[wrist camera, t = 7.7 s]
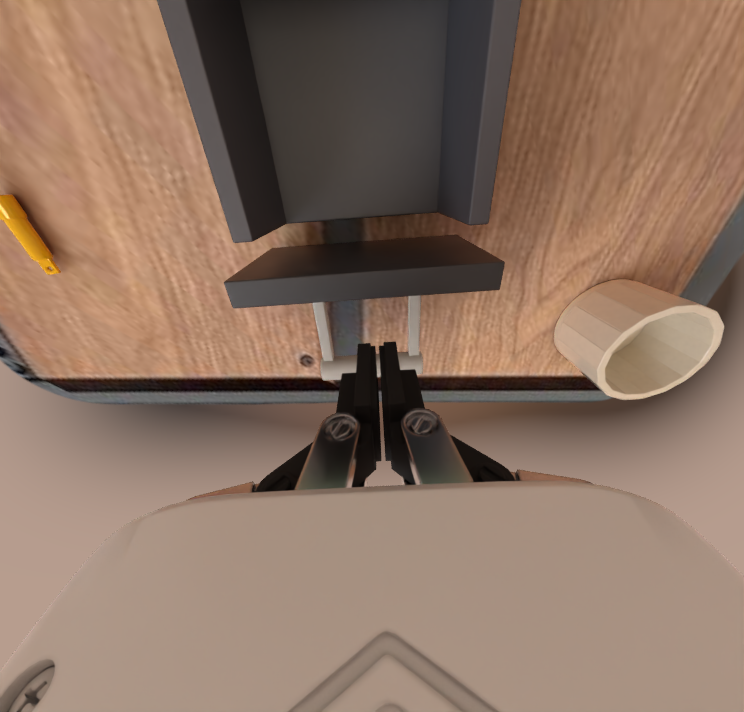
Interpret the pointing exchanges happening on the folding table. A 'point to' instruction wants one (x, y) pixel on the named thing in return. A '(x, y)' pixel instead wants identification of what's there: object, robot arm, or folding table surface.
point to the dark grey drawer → (350, 140)
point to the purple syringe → (26, 233)
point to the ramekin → (636, 338)
